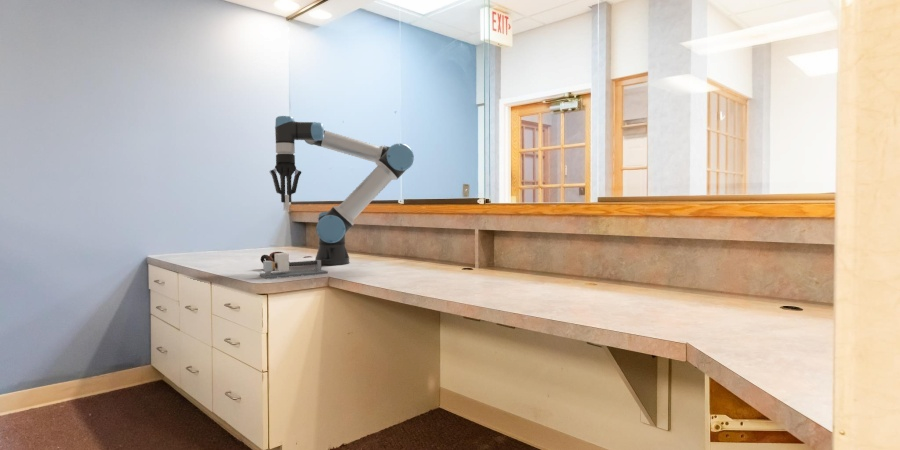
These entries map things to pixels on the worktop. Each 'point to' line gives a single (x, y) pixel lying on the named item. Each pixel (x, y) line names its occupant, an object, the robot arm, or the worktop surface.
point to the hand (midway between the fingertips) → (286, 210)
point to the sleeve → (282, 261)
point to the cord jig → (270, 266)
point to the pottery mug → (269, 257)
